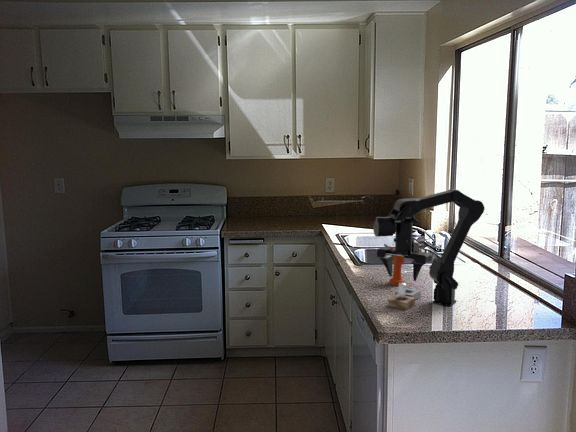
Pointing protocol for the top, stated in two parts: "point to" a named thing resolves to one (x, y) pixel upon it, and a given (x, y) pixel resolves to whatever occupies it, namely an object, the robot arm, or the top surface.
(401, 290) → the silver metal rod
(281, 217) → the top surface
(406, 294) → the gray square ring
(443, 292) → the robot arm
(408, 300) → the socket block
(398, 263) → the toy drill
